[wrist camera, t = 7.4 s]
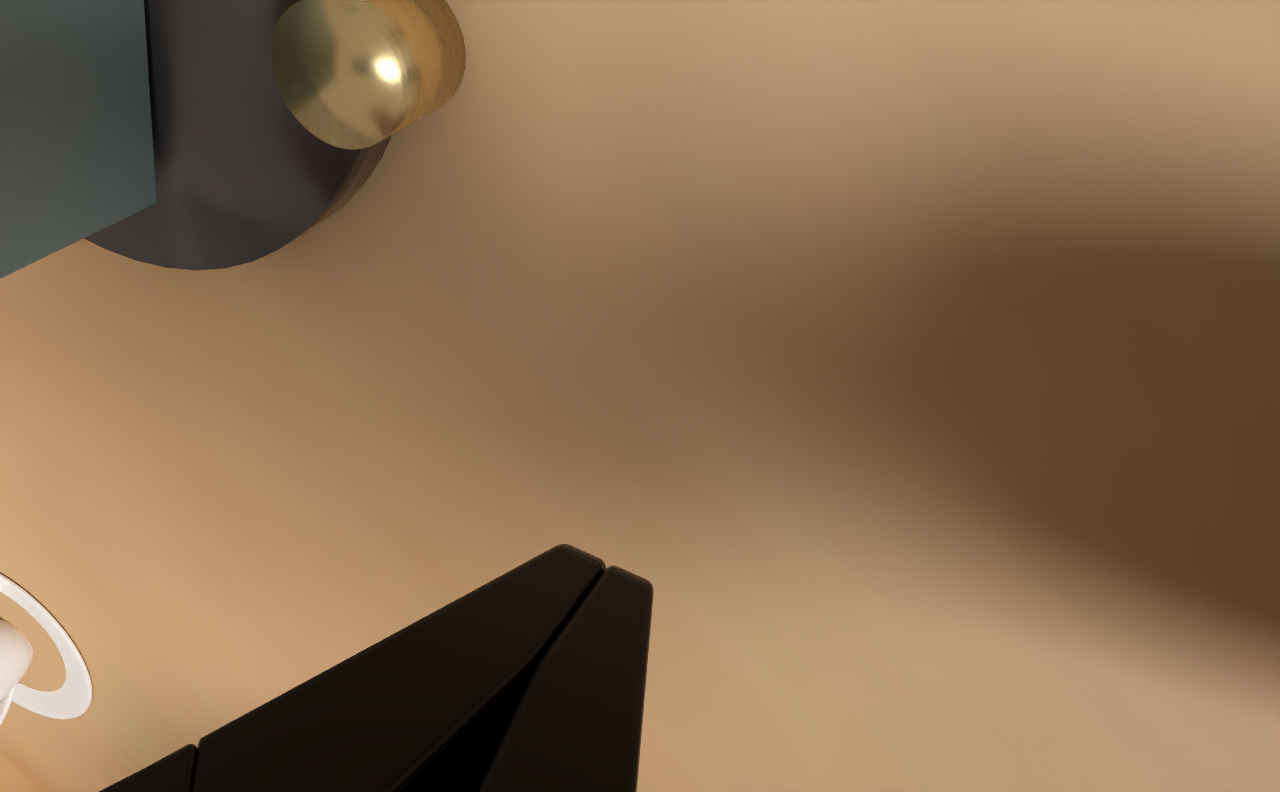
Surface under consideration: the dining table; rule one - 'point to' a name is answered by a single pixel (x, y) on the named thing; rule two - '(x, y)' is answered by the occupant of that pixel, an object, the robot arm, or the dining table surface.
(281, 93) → the base
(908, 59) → the dining table surface
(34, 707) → the white lobed piece
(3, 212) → the grey upright slab
